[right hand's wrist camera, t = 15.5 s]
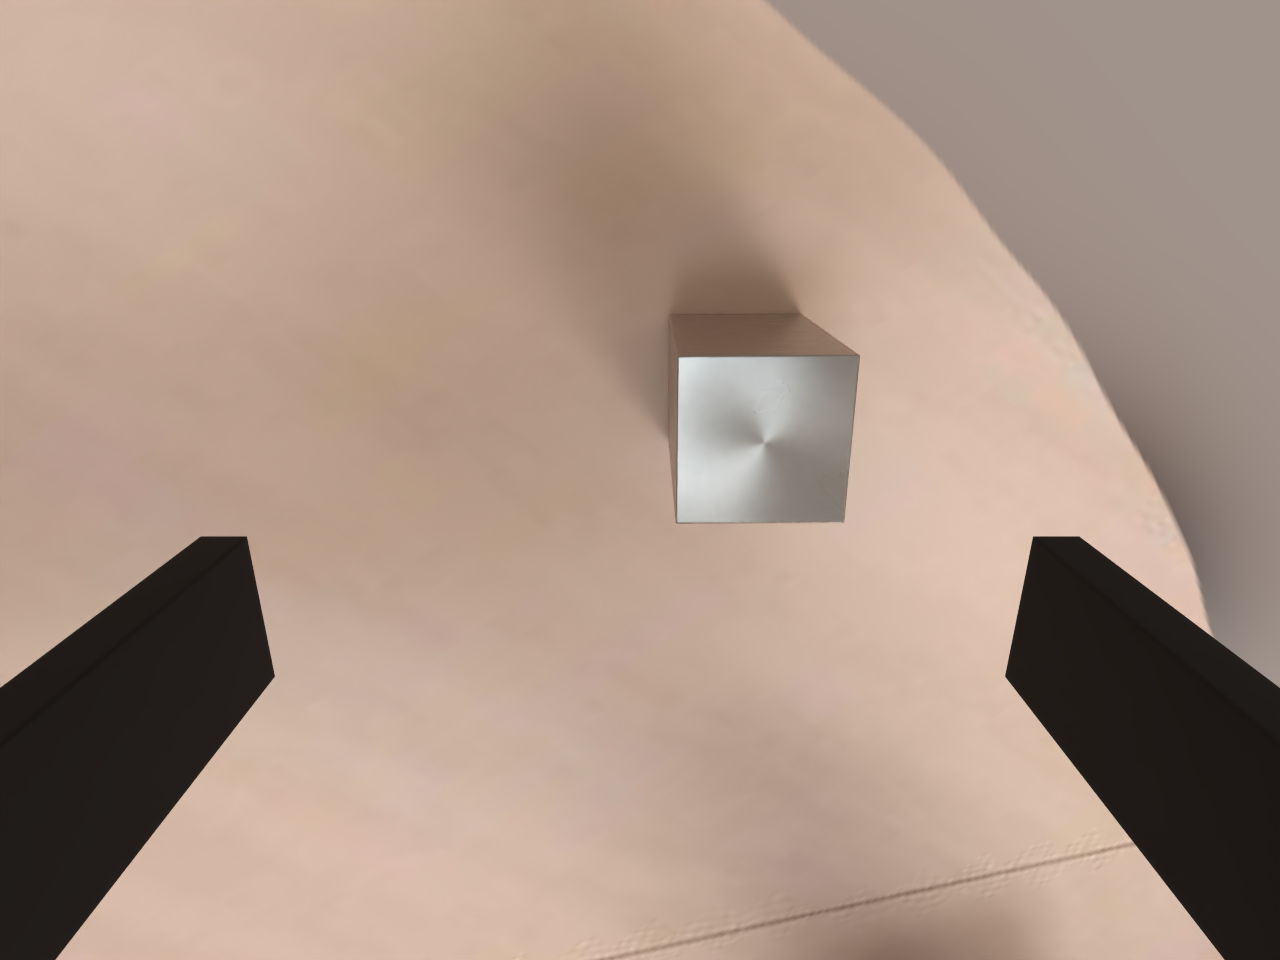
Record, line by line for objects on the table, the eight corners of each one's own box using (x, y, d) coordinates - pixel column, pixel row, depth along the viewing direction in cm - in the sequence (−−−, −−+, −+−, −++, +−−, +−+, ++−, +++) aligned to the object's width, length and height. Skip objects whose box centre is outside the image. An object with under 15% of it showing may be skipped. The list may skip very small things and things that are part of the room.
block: (668, 441, 38) (675, 523, 28) (669, 314, 35) (677, 356, 26) (793, 440, 38) (844, 523, 28) (802, 313, 35) (860, 354, 26)
